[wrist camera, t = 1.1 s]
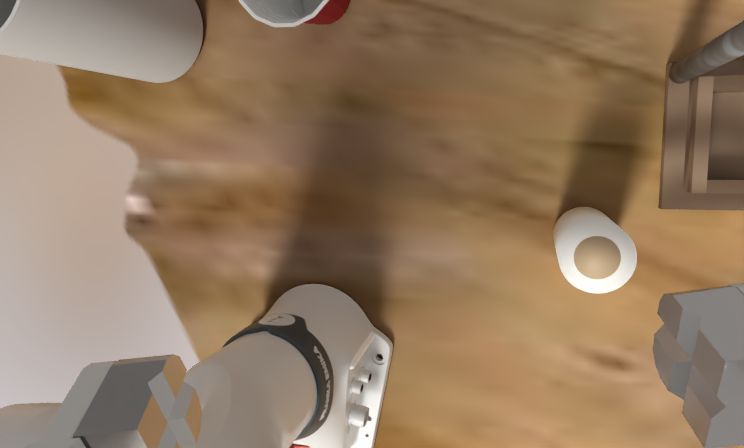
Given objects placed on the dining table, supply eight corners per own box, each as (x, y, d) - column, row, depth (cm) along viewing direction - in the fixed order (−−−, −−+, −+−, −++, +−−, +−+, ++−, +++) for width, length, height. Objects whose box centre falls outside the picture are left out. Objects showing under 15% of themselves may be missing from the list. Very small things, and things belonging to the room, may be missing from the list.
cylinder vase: (215, -9, 66) (35, -102, 42) (195, 94, 68) (13, 63, 44) (129, -30, 68) (-85, -127, 45) (113, 70, 71) (-99, 28, 47)
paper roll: (612, 264, 57) (635, 295, 44) (552, 262, 59) (557, 291, 46) (615, 207, 56) (638, 222, 44) (553, 206, 58) (559, 220, 45)
